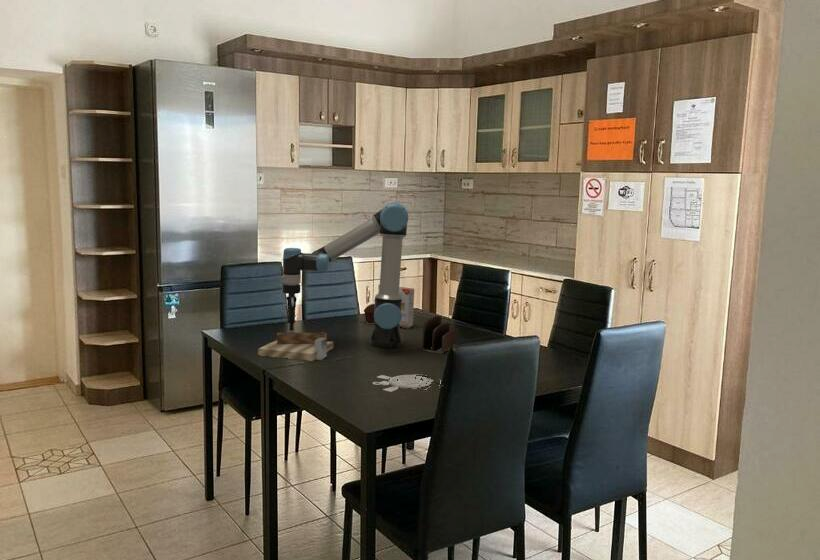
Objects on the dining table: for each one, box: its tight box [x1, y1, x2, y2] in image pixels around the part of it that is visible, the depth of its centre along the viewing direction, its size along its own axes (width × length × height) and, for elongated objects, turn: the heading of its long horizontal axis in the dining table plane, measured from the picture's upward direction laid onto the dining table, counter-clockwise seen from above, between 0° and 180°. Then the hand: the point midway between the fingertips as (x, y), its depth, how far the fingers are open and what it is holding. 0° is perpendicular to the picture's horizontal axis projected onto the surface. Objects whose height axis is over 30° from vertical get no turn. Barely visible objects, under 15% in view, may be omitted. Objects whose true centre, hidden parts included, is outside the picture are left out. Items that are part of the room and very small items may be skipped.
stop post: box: [314, 338, 328, 361], centre depth 276 cm, size 3×6×8 cm, turn 165°
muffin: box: [363, 303, 375, 323], centre depth 355 cm, size 12×11×10 cm
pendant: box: [372, 373, 442, 393], centre depth 246 cm, size 21×28×1 cm
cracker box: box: [399, 286, 415, 327], centre depth 345 cm, size 14×6×21 cm, turn 62°
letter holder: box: [421, 315, 459, 352], centre depth 301 cm, size 10×20×14 cm, turn 156°
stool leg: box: [276, 331, 328, 344], centre depth 289 cm, size 21×4×5 cm, turn 100°
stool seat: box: [257, 339, 334, 362], centre depth 286 cm, size 24×24×3 cm
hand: (291, 337), depth 291 cm, fingers closed
